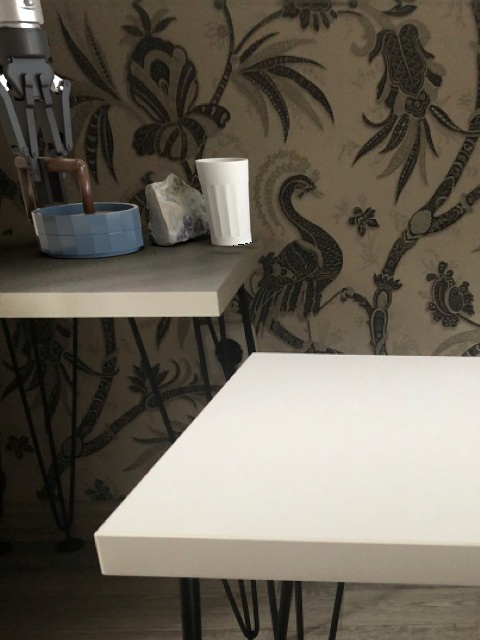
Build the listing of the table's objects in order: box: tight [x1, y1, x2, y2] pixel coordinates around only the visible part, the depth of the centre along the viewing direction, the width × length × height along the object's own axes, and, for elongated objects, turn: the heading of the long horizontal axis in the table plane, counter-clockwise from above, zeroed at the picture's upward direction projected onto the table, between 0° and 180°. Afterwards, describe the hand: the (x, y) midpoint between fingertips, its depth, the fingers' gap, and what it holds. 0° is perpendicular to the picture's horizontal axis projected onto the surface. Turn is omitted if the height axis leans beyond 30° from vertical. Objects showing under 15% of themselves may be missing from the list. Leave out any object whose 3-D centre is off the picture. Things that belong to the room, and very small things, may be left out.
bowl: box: [32, 202, 145, 259], centre depth 140 cm, size 15×15×6 cm
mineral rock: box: [144, 172, 210, 247], centre depth 147 cm, size 13×11×10 cm
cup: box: [194, 157, 253, 247], centre depth 144 cm, size 8×8×12 cm
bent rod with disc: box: [14, 155, 115, 225], centre depth 141 cm, size 21×6×10 cm, turn 58°
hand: (53, 203), depth 144 cm, fingers closed on bent rod with disc, 2 cm apart
